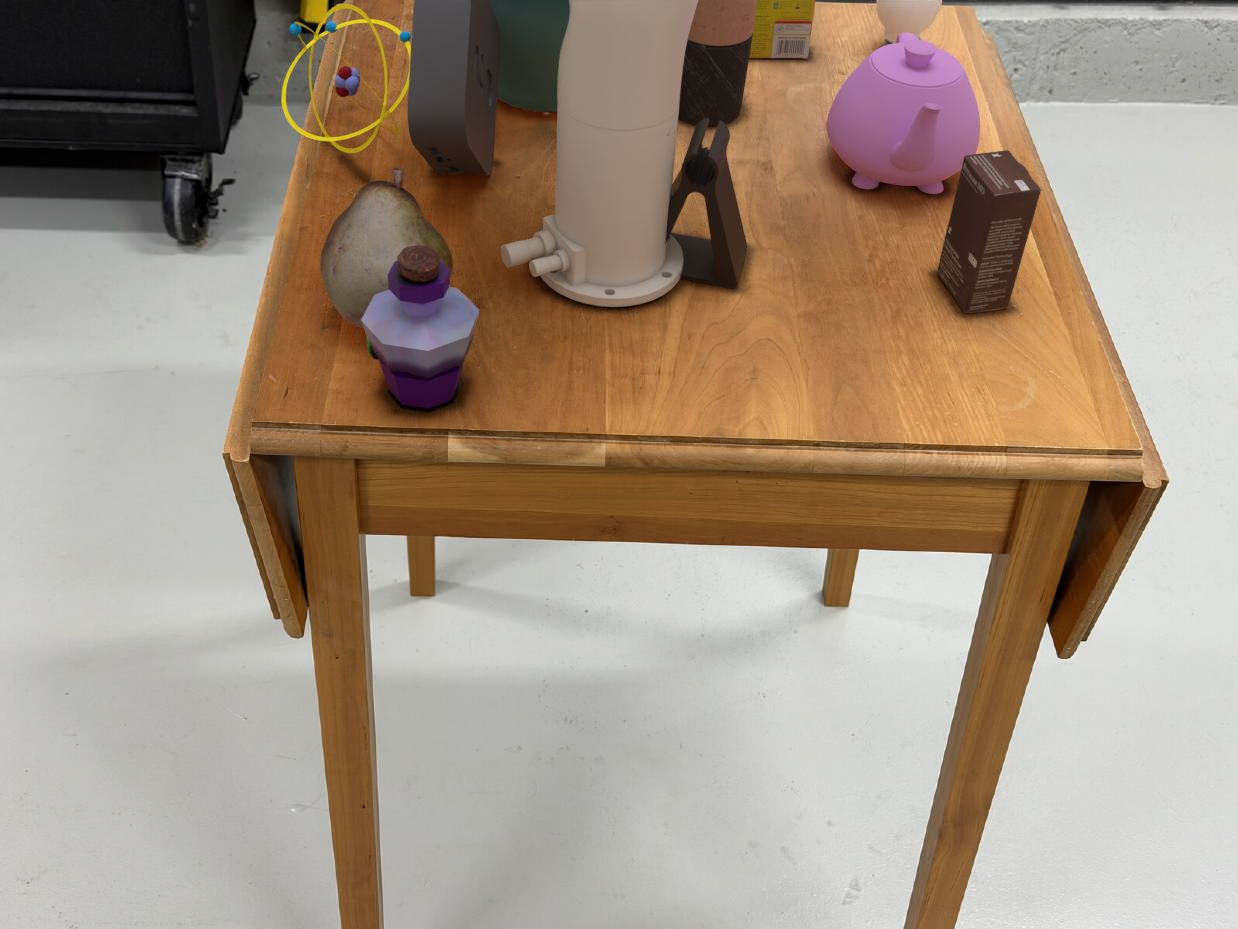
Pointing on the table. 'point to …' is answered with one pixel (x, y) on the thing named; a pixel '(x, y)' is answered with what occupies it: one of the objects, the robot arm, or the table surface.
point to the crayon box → (782, 29)
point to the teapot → (905, 117)
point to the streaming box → (454, 85)
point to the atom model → (345, 77)
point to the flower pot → (530, 51)
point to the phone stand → (709, 211)
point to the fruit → (373, 244)
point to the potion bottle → (420, 331)
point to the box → (987, 230)
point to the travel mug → (716, 61)
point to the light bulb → (906, 17)
